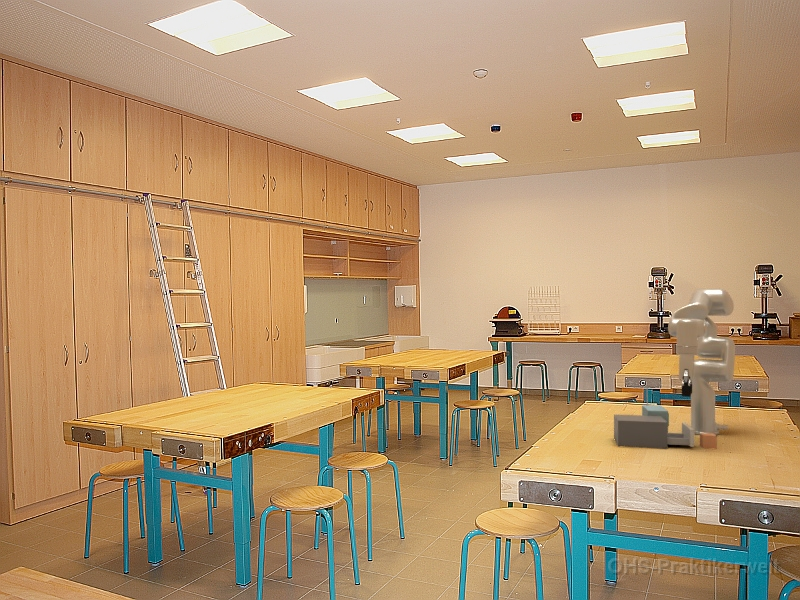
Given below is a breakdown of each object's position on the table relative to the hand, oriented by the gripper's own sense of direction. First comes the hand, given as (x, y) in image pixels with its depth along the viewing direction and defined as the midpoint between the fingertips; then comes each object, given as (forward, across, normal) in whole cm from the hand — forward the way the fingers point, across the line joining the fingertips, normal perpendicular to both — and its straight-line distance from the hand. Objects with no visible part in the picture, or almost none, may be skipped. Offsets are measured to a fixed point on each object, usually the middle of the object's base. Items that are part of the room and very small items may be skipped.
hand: (687, 394), depth 262 cm
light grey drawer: (+19, +1, -7) cm, 20 cm away
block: (+20, -2, +7) cm, 21 cm away
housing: (+20, +4, -17) cm, 26 cm away
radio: (+20, -16, -13) cm, 29 cm away
